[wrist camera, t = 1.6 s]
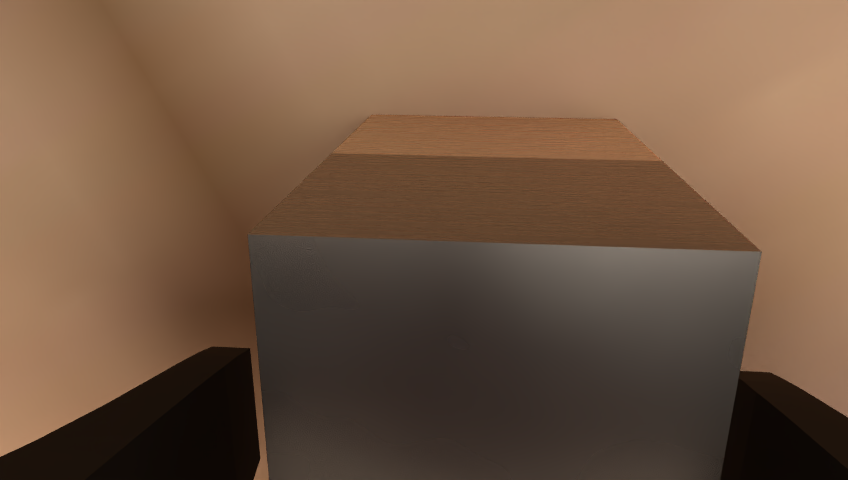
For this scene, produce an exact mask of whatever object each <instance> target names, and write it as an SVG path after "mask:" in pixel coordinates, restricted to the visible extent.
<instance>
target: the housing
mask: <svg viewBox="0 0 848 480" xmlns="http://www.w3.org/2000/svg"><path fill="white" fill-rule="evenodd" d="M248 243H249V255H250V266H251V278H252V289H253V301H254V312H255V324H256V335H257V346H258V358H259V369H260V381H261V392H262V404H263V415H264V427H265V438H266V450H267V461H268V472H269V480H720V477H721V472H722V466H723V461H724V455H725V450H726V444H727V439H728V433H729V428H730V422H731V417H732V412H733V406H734V401H735V395H736V390H737V384H738V379H739V373H740V368H741V362H742V357H743V351H744V346H745V340H746V335H747V329H748V324H749V318H750V313H751V307H752V302H753V297H754V291H755V286H756V280H757V275H758V269H759V264H760V258H761V253H762V252H761V251H760V250H759V249H758V248H757V247H756V246H755V245H753V244H752V243H751V242H750V241H749V240H748V239H747V238H746V237H745V236H744V235H743V234H741V233H740V232H739V231H738V230H737V229H736V228H735V227H734V226H733V225H732V224H731V223H729V222H728V221H727V220H726V219H725V218H724V217H723V216H722V215H721V214H720V213H719V212H717V211H716V210H715V209H714V208H713V207H712V206H711V205H710V204H709V203H708V202H707V201H705V200H704V199H703V198H702V197H701V196H700V195H699V194H698V193H697V192H696V191H694V190H693V189H692V188H691V187H690V186H689V185H688V184H687V183H686V182H685V181H684V180H682V179H681V178H680V177H679V176H678V175H677V174H676V173H675V172H674V171H673V170H672V169H670V168H669V167H668V166H667V165H666V164H665V163H664V162H663V161H662V160H661V159H660V158H658V157H657V156H656V155H655V154H654V153H653V152H652V151H651V150H650V149H649V148H648V147H646V146H645V145H644V144H643V143H642V142H641V141H640V140H639V139H638V138H637V137H636V136H634V135H633V134H632V133H631V132H630V131H629V130H628V129H627V128H626V127H625V126H624V125H622V124H621V123H620V122H619V121H618V120H617V119H580V118H527V117H473V116H420V115H371V116H370V117H369V118H368V119H367V120H366V121H365V122H364V123H363V124H362V125H360V126H359V127H358V128H357V129H356V130H355V131H354V132H353V133H352V134H351V135H350V136H349V137H348V138H347V139H346V140H345V141H344V142H343V143H342V144H341V145H340V146H339V147H338V148H337V149H336V150H335V151H334V152H333V153H331V154H330V155H329V156H328V157H327V158H326V159H325V160H324V161H323V162H322V163H321V164H320V165H319V166H318V167H317V168H316V169H315V170H314V171H313V172H312V173H311V174H310V175H309V176H308V177H307V178H306V179H305V180H304V181H302V182H301V183H300V184H299V185H298V186H297V187H296V188H295V189H294V190H293V191H292V192H291V193H290V194H289V195H288V196H287V197H286V198H285V199H284V200H283V201H282V202H281V203H280V204H279V205H278V206H277V207H276V208H275V209H273V210H272V211H271V212H270V213H269V214H268V215H267V216H266V217H265V218H264V219H263V220H262V221H261V222H260V223H259V224H258V225H257V226H256V227H255V228H254V229H253V230H252V231H251V232H250V233H249V234H248Z"/></svg>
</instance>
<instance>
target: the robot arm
mask: <svg viewBox="0 0 848 480" xmlns="http://www.w3.org/2000/svg"><path fill="white" fill-rule="evenodd" d="M259 461H260V451H259V440H258V429H257V418H256V407H255V397H254V386H253V375H252V364H251V354H250V348H231V347H210V348H208V349H206V350H203V351H201V352H199V353H197V354H195V355H193V356H191V357H189V358H187V359H186V360H184V361H182V362H180V363H178V364H176V365H175V366H173V367H171V368H169V369H167V370H166V371H164V372H162V373H160V374H159V375H157V376H155V377H153V378H152V379H150V380H148V381H146V382H145V383H143V384H141V385H139V386H137V387H136V388H134V389H132V390H130V391H128V392H127V393H125V394H123V395H121V396H120V397H118V398H116V399H114V400H112V401H111V402H109V403H107V404H105V405H103V406H102V407H100V408H98V409H96V410H94V411H92V412H90V413H88V414H86V415H84V416H82V417H80V418H78V419H76V420H75V421H73V422H71V423H69V424H67V425H65V426H63V427H61V428H59V429H57V430H55V431H53V432H51V433H49V434H47V435H46V436H44V437H42V438H40V439H38V440H36V441H34V442H31V443H29V444H27V445H25V446H23V447H21V448H19V449H17V450H14V451H12V452H10V453H8V454H6V455H4V456H1V457H0V480H253V479H254V476H255V473H256V470H257V467H258V464H259ZM720 480H848V417H846V416H844V415H843V414H841V413H840V412H838V411H836V410H835V409H833V408H831V407H830V406H828V405H827V404H825V403H823V402H822V401H820V400H819V399H817V398H815V397H814V396H812V395H810V394H809V393H807V392H805V391H804V390H802V389H800V388H799V387H797V386H795V385H793V384H792V383H790V382H788V381H786V380H784V379H782V378H780V377H778V376H776V375H774V374H772V373H770V372H749V371H740V373H739V379H738V384H737V390H736V395H735V401H734V406H733V412H732V417H731V422H730V428H729V433H728V439H727V444H726V450H725V455H724V461H723V466H722V472H721V477H720Z"/></svg>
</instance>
